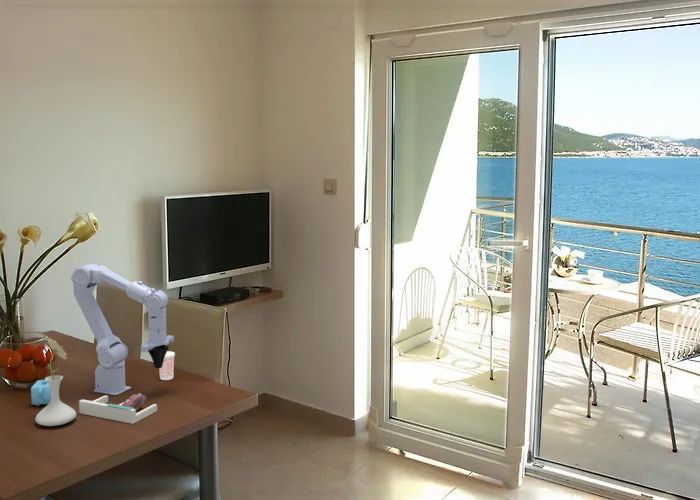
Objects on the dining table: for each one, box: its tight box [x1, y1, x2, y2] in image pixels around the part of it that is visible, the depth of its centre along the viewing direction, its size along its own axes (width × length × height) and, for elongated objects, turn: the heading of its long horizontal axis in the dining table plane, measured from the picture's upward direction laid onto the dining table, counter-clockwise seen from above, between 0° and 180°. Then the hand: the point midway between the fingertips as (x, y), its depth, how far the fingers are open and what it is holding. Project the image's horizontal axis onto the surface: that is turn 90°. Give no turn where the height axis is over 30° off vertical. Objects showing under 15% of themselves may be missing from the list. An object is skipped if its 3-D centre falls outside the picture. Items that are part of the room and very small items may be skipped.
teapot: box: [30, 379, 51, 407], centre depth 224 cm, size 12×6×8 cm, turn 7°
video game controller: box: [121, 392, 147, 412], centre depth 216 cm, size 10×5×7 cm, turn 161°
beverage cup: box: [158, 350, 176, 381], centre depth 248 cm, size 6×6×14 cm
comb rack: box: [78, 394, 158, 425], centre depth 216 cm, size 20×12×4 cm, turn 68°
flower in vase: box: [35, 338, 77, 427], centre depth 207 cm, size 13×11×25 cm
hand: (158, 367), depth 231 cm, fingers closed
